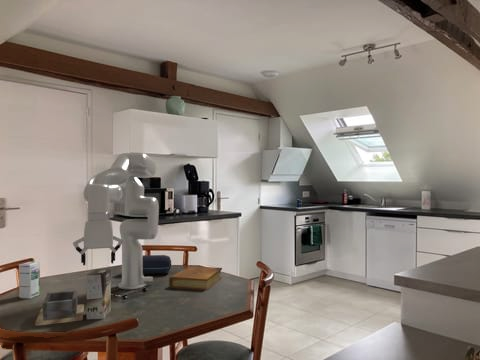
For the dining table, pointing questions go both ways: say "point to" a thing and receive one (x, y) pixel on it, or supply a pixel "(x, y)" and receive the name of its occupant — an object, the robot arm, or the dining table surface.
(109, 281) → the coffee box
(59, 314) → the frame
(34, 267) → the syrup box
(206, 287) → the diary
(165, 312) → the dining table surface
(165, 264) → the portable speaker
